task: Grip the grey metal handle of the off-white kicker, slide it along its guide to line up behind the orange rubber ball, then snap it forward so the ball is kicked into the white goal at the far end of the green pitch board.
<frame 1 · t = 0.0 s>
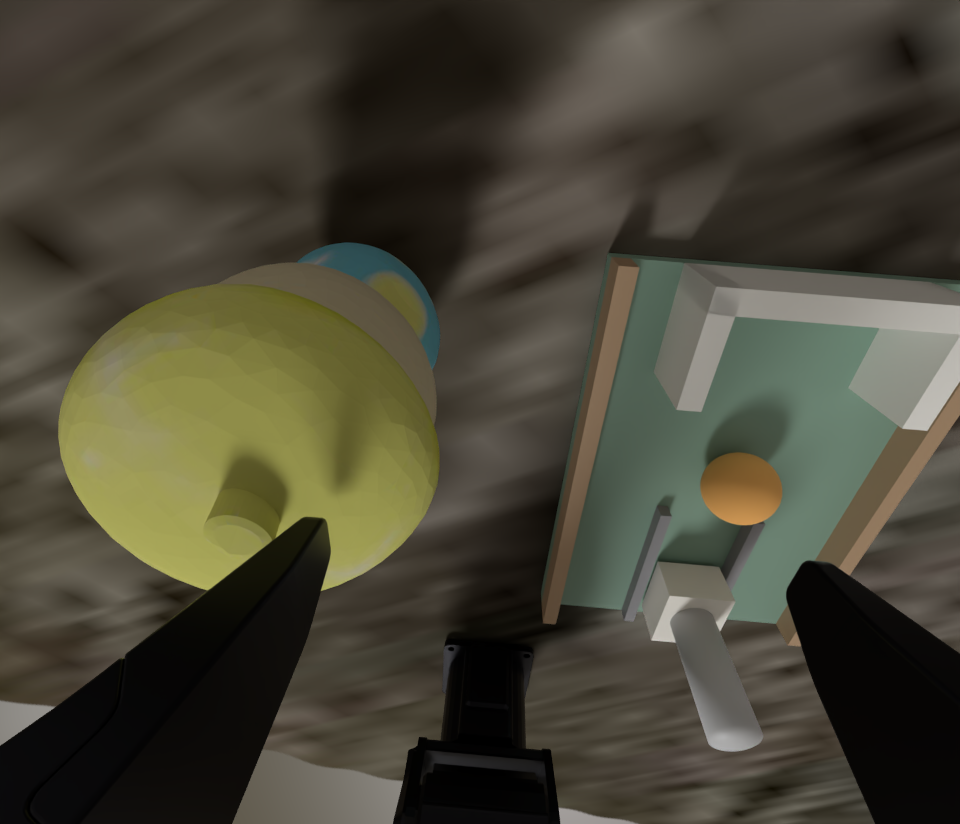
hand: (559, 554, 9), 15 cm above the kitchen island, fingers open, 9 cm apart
ball: (739, 488, 23), point 3 cm above the kitchen island, touching pitch
toy: (379, 301, 22), on the kitchen island
kicker: (702, 651, 25), point 5 cm above the kitchen island, slide at 0.0 cm
goal: (782, 329, 21), resting on pitch
pitch: (713, 472, 26), on the kitchen island
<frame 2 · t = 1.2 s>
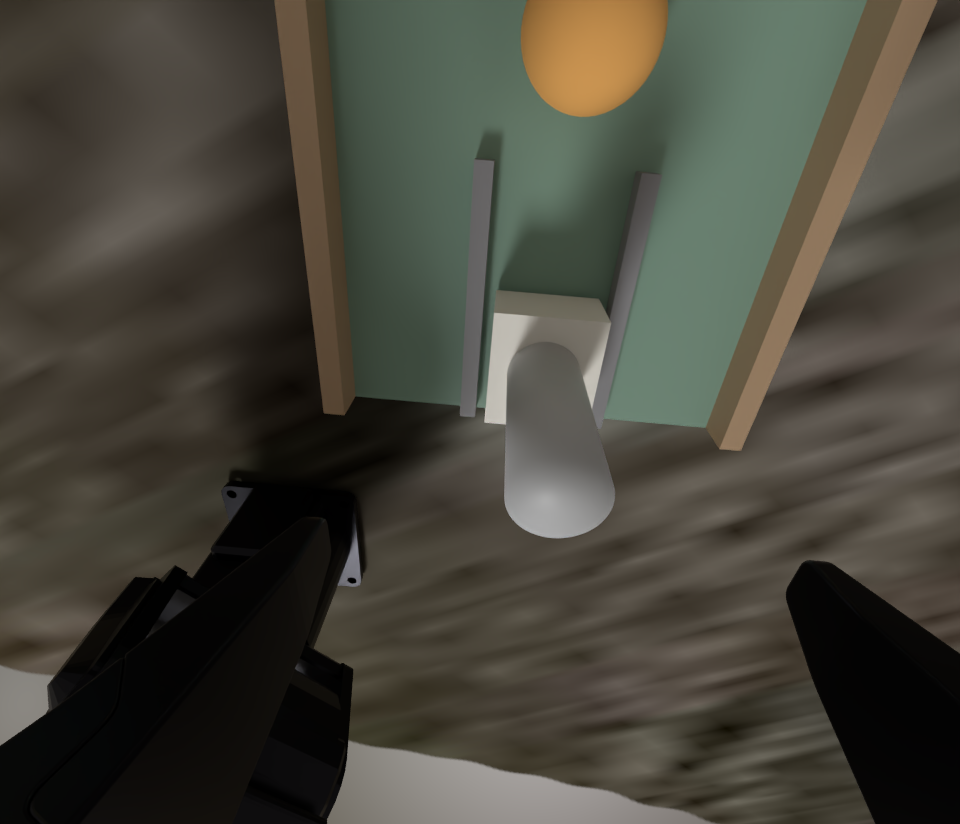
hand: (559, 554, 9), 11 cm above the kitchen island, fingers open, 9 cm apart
ball: (591, 33, 12), point 3 cm above the kitchen island, touching pitch
kicker: (546, 403, 14), point 5 cm above the kitchen island, slide at 0.0 cm
pitch: (573, 89, 14), on the kitchen island
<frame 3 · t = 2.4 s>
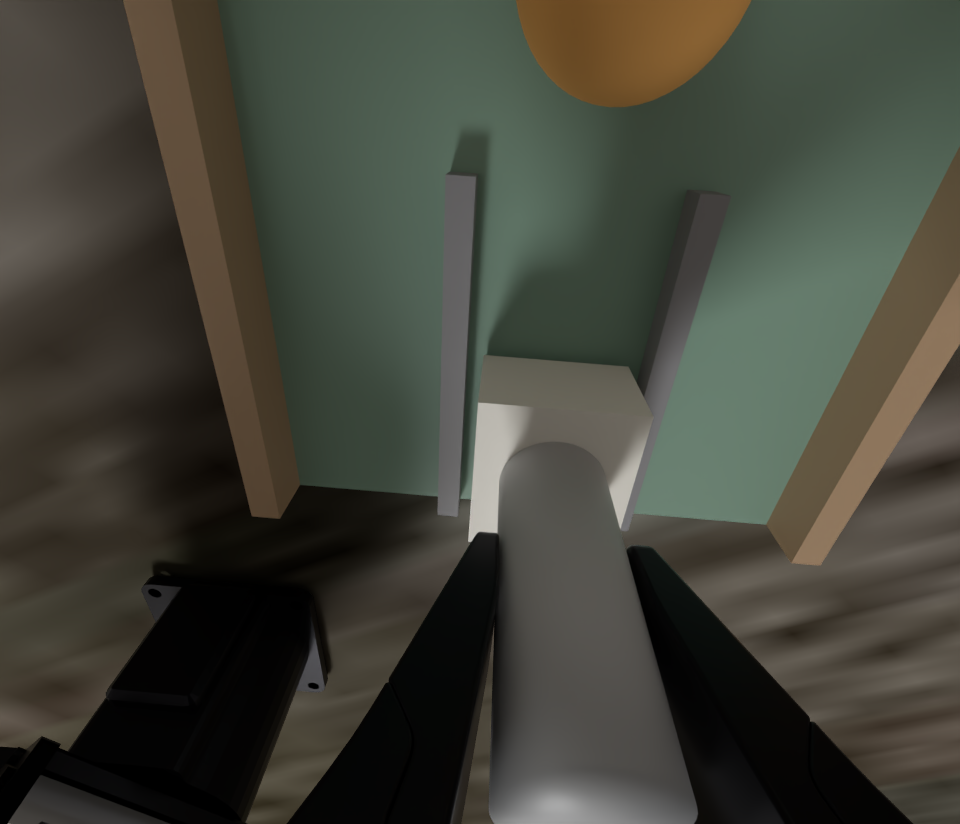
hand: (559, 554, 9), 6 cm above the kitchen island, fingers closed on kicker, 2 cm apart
kicker: (558, 545, 9), point 5 cm above the kitchen island, slide at 0.0 cm, touching gripper
pitch: (594, 68, 10), on the kitchen island
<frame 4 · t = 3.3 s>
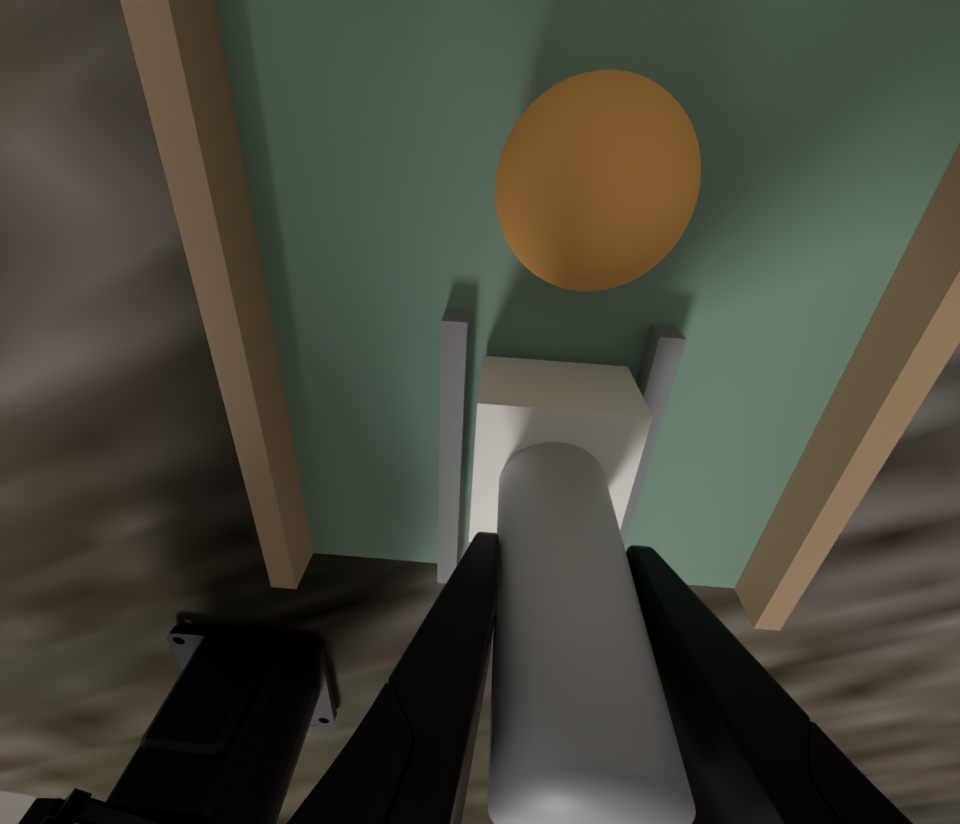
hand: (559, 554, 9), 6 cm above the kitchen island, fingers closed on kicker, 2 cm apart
ball: (593, 190, 8), point 3 cm above the kitchen island, touching pitch
kicker: (558, 545, 9), point 5 cm above the kitchen island, slide at 3.0 cm, touching gripper
pitch: (569, 225, 11), on the kitchen island
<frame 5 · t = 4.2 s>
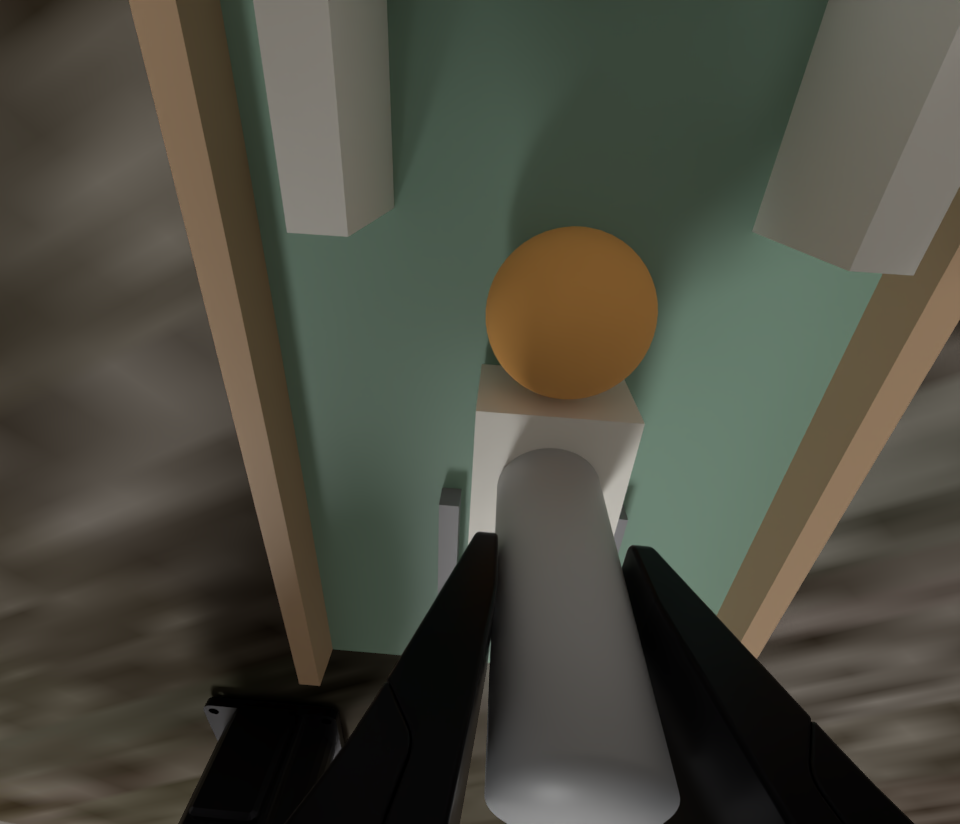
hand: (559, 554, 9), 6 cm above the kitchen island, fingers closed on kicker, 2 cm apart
ball: (568, 315, 10), point 3 cm above the kitchen island, tilted 104°, touching pitch
kicker: (554, 548, 10), point 5 cm above the kitchen island, slide at 8.5 cm, touching gripper
goal: (591, 84, 9), resting on pitch
pitch: (538, 426, 14), on the kitchen island
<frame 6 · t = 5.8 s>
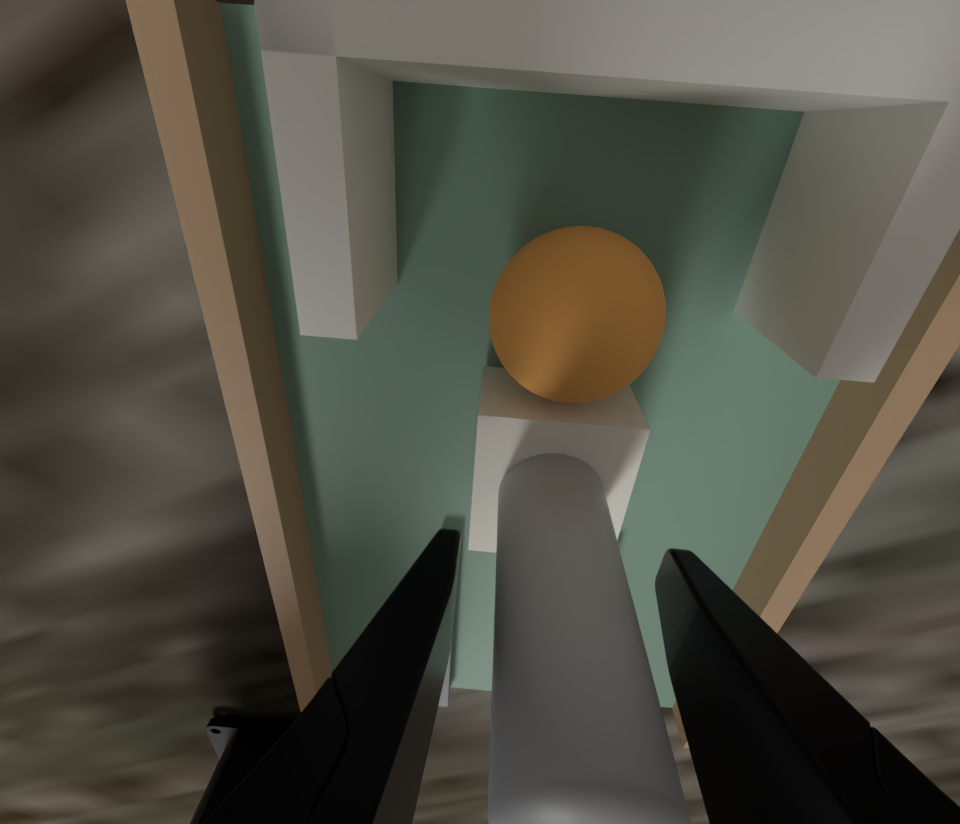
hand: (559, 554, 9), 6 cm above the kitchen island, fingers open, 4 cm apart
ball: (574, 317, 10), point 3 cm above the kitchen island, tilted 165°, touching pitch
kicker: (557, 556, 9), point 5 cm above the kitchen island, slide at 10.2 cm
goal: (583, 181, 10), resting on pitch
pitch: (532, 475, 15), on the kitchen island
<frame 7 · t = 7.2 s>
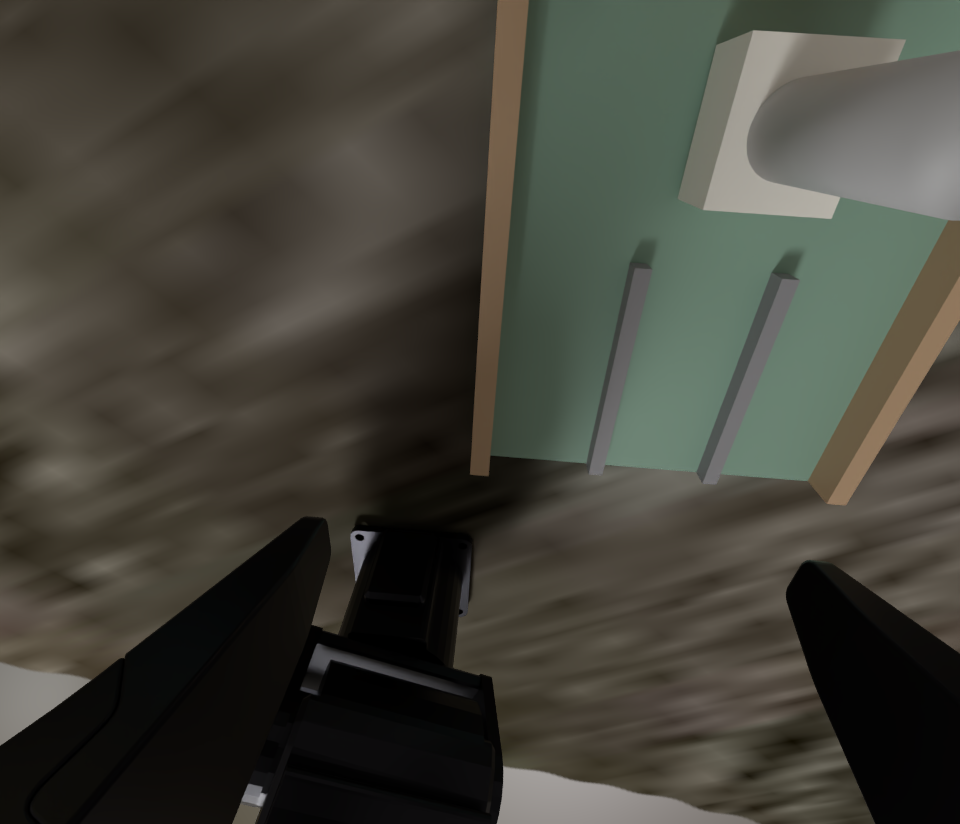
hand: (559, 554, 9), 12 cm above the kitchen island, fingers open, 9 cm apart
kicker: (836, 133, 11), point 5 cm above the kitchen island, slide at 10.2 cm
pitch: (718, 204, 16), on the kitchen island
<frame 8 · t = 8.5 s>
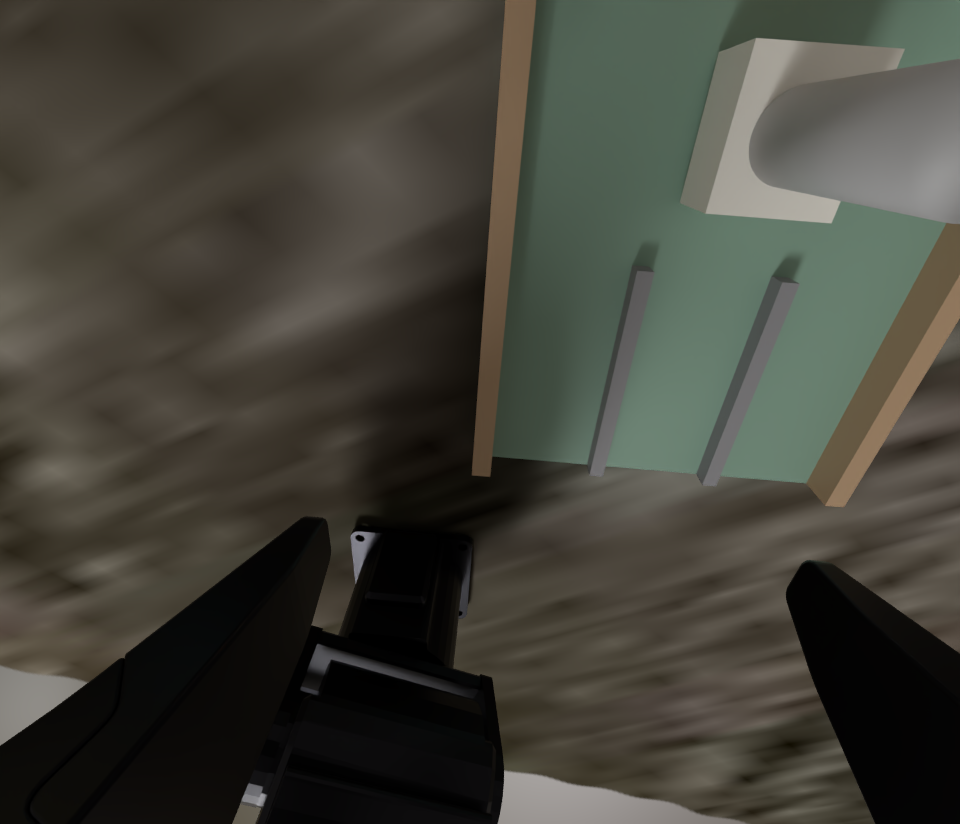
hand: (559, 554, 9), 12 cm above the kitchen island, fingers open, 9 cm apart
kicker: (837, 138, 11), point 5 cm above the kitchen island, slide at 10.2 cm
pitch: (719, 208, 17), on the kitchen island
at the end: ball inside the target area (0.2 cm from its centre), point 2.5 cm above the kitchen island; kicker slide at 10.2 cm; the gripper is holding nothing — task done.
